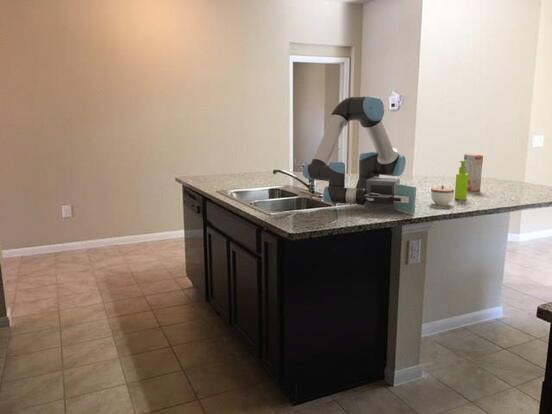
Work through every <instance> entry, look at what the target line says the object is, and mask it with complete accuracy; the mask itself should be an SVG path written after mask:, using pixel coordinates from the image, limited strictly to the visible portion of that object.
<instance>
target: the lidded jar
mask: <svg viewBox="0 0 552 414" xmlns="http://www.w3.org/2000/svg"><path fill="white" fill-rule="evenodd" d="M430 190H431V191H430V195H431V200H432V202H433V203H434V204H435V205H436V206H448V205H449V204H450V203H451V202H452V201H453V198H454V195H455V188H450V187H445V186H444V185H441V187H438V186H437V187H432V188H430Z"/></svg>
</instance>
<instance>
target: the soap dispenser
mask: <svg viewBox="0 0 552 414" xmlns="http://www.w3.org/2000/svg"><path fill="white" fill-rule="evenodd" d="M459 162H460V166H459V167H458V168H459V169H458V173H456V175H455V176H456V177H455V186H454V187H455V188H454V199H455V200H467V195H468V190H467V184H468V174H466V167H465V162H468V163H471V162H469V161H464V160H460V161H459Z"/></svg>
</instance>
